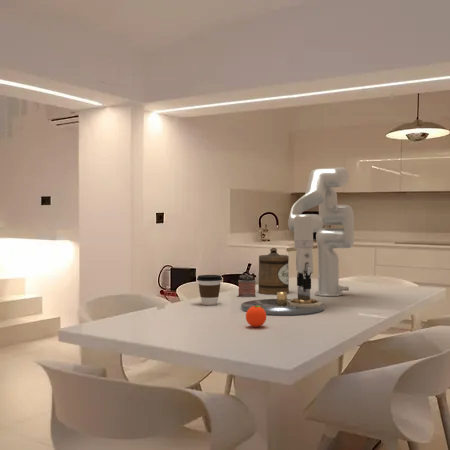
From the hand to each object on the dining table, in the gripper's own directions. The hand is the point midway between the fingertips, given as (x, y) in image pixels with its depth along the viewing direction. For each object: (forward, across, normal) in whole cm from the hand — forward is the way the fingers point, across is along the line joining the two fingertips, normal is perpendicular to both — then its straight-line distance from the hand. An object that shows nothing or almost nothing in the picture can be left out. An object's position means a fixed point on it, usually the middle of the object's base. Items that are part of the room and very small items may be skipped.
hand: (303, 287), depth 220 cm
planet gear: (+7, 0, 0) cm, 7 cm away
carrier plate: (+8, 0, +9) cm, 12 cm away
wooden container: (+9, +48, +3) cm, 49 cm away
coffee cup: (+8, +16, +37) cm, 41 cm away
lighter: (+8, +36, +18) cm, 41 cm away
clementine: (+8, -35, +25) cm, 44 cm away
